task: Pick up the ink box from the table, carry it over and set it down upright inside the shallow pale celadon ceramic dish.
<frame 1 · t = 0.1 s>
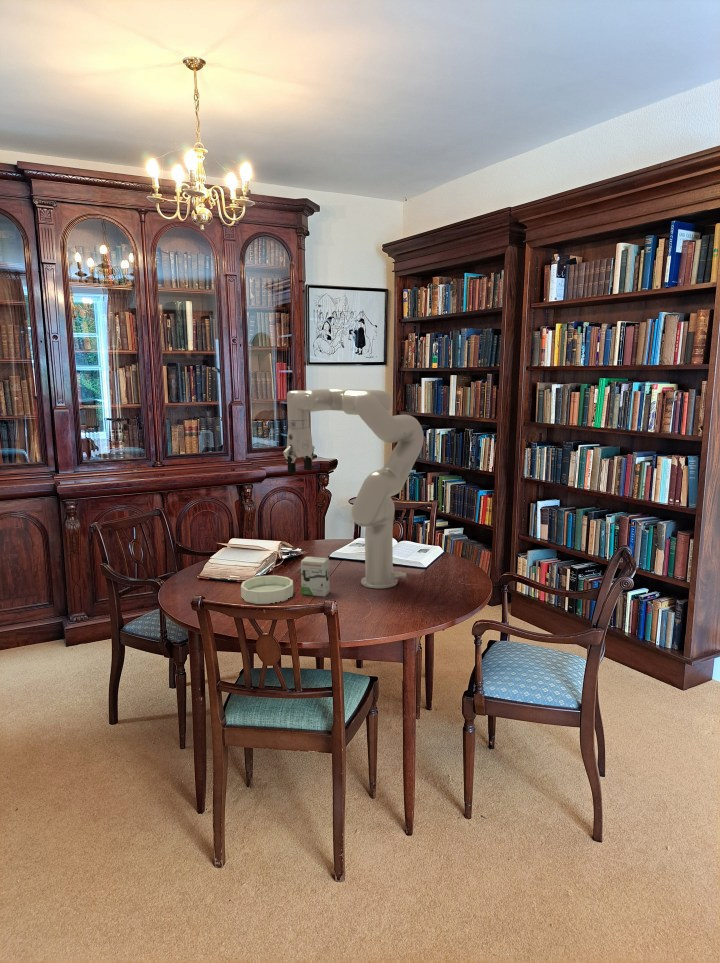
hand: (300, 471, 235), 37 cm above the table, tool pointing down, fingers open, 9 cm apart
ink box: (315, 593, 215), on the table
dish: (267, 594, 215), on the table
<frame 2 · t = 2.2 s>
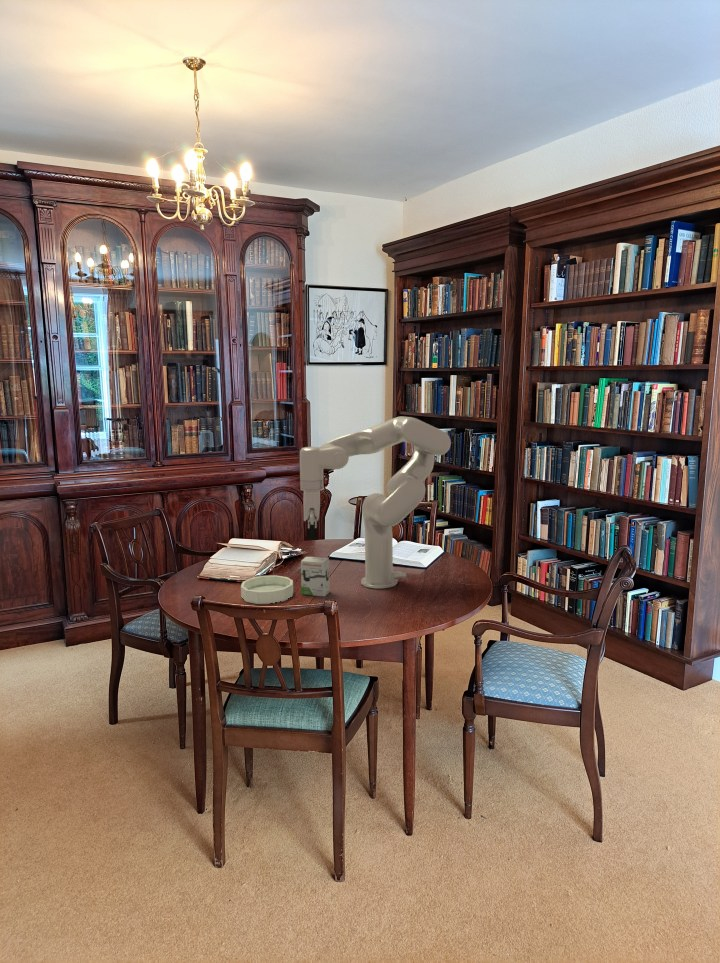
hand: (312, 536, 212), 20 cm above the table, tool pointing down, fingers open, 9 cm apart
nothing on the table moved.
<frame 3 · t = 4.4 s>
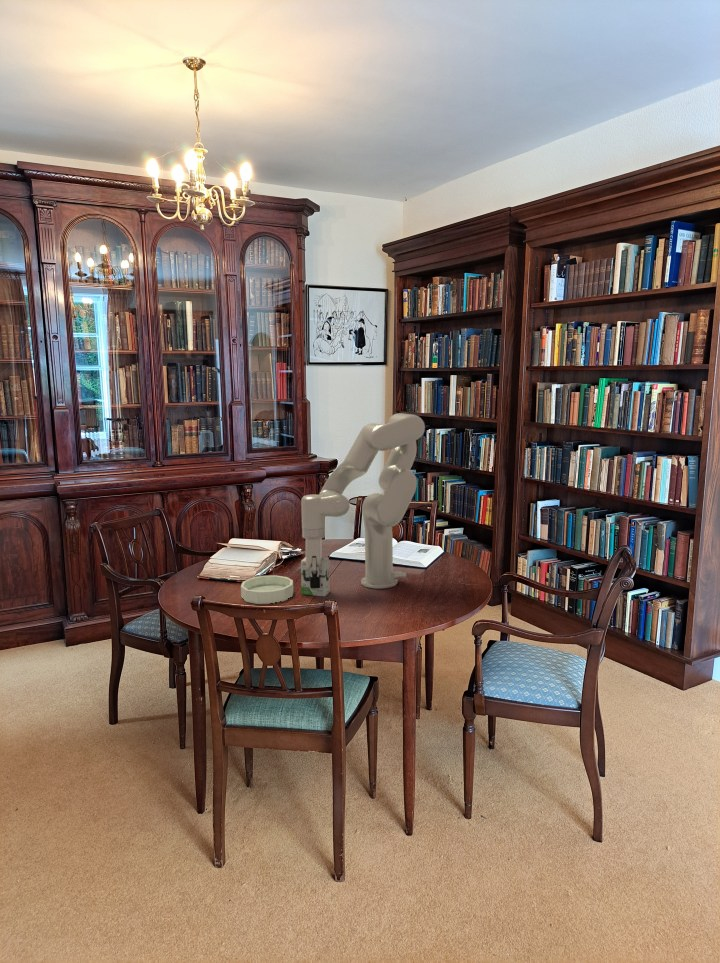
hand: (315, 584, 215), 3 cm above the table, tool pointing down, fingers closed on ink box, 6 cm apart
ink box: (315, 593, 215), on the table, touching gripper
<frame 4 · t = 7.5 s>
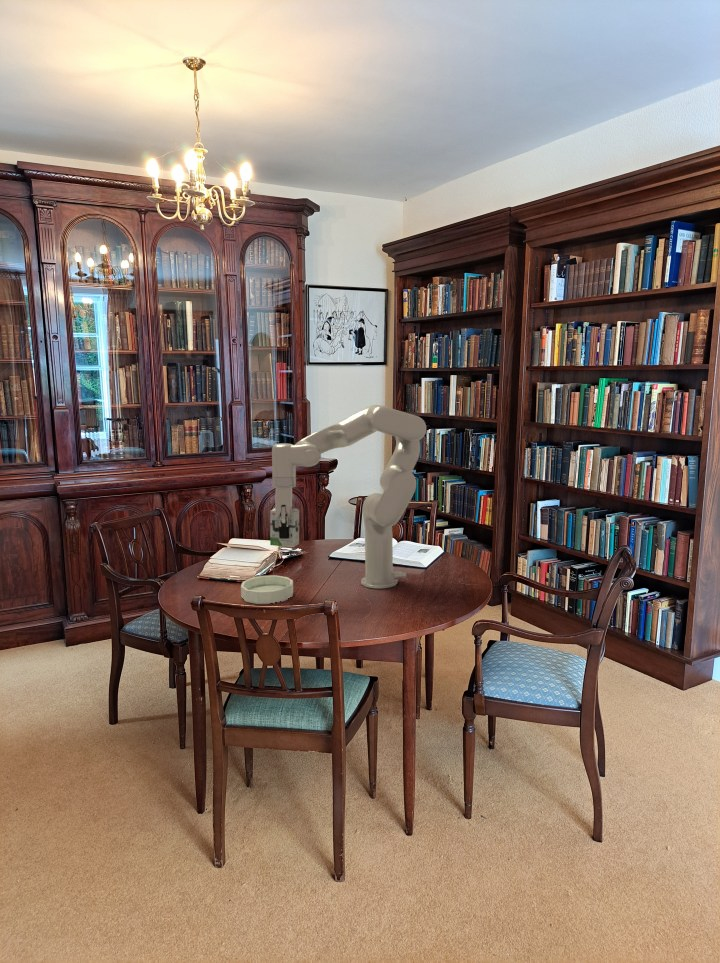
hand: (284, 535, 211), 20 cm above the table, tool pointing down, fingers closed on ink box, 6 cm apart
ink box: (284, 545, 212), point 17 cm above the table, touching gripper
when the fingers open (5 cm above the table, at t = 11.1 s): ink box drops 1 cm, resting on dish.
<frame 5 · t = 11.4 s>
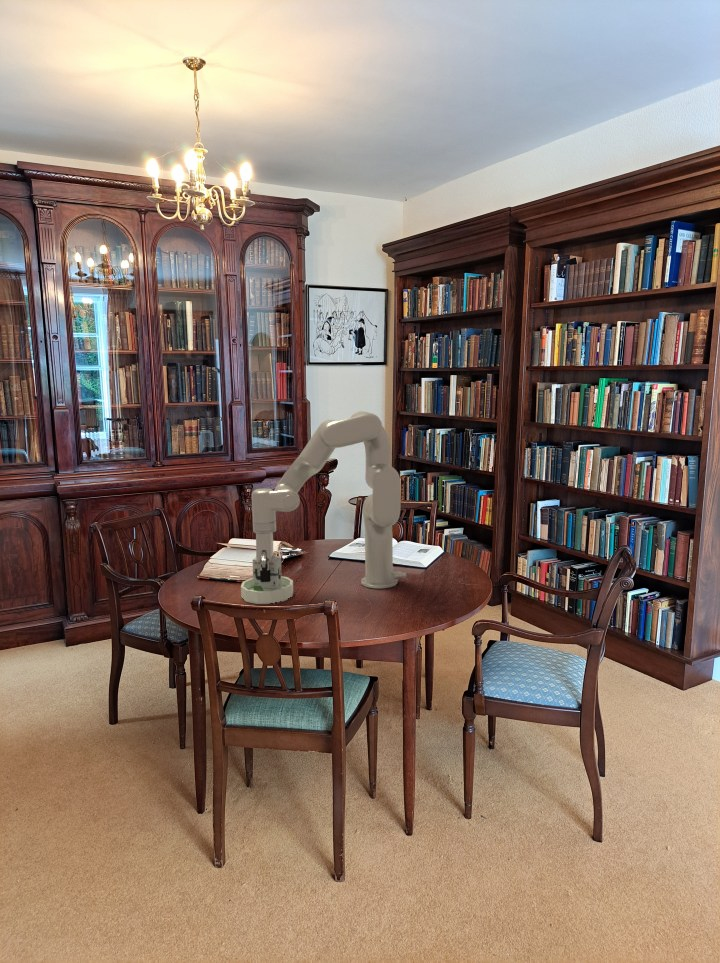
hand: (266, 577, 214), 6 cm above the table, tool pointing down, fingers open, 8 cm apart
ink box: (267, 592, 215), point 1 cm above the table, touching dish
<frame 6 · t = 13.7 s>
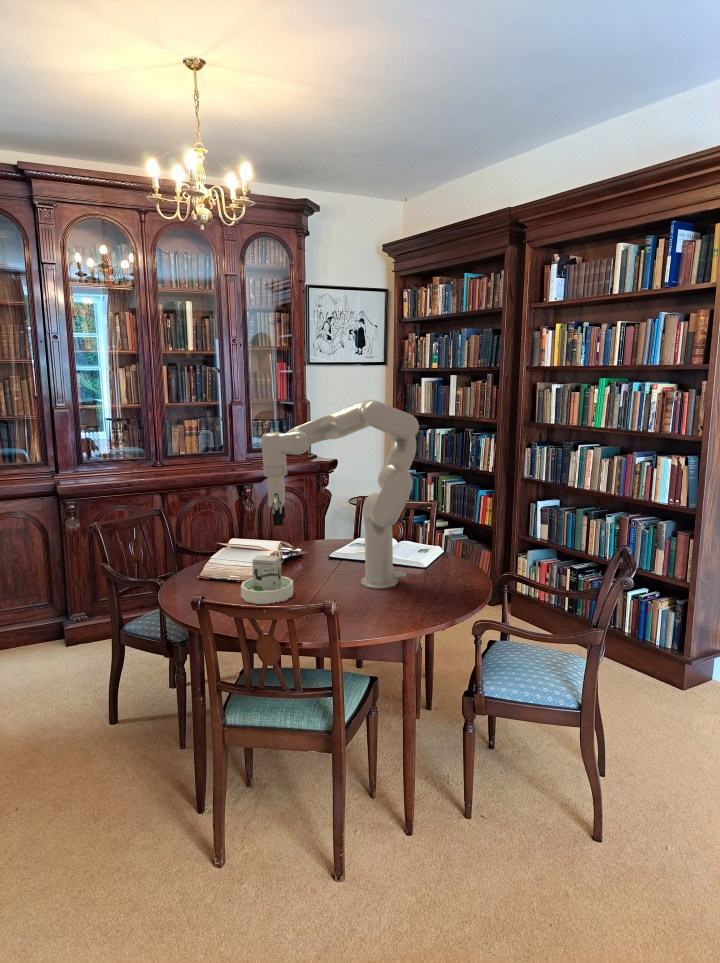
hand: (279, 521, 212), 24 cm above the table, tool pointing down, fingers open, 9 cm apart
nothing on the table moved.
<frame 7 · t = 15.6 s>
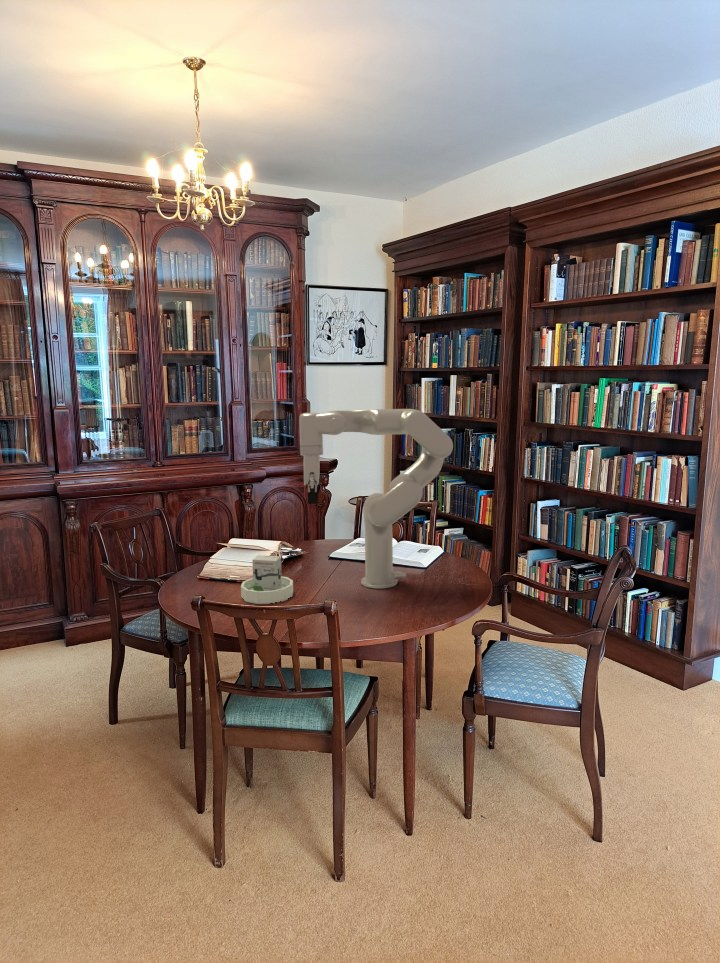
hand: (313, 500, 216), 30 cm above the table, tool pointing down, fingers open, 9 cm apart
nothing on the table moved.
at the end: ink box inside the target area on the dish (0.1 cm from its centre), point 0.8 cm above the dish's base; ink box tilted 0°; the gripper is holding nothing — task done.
